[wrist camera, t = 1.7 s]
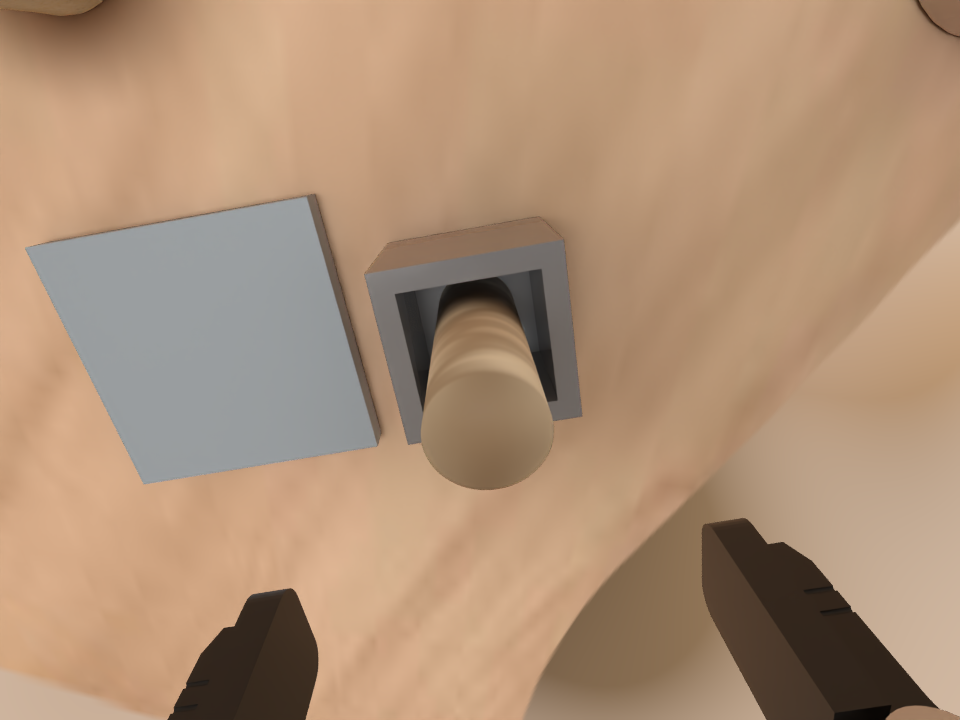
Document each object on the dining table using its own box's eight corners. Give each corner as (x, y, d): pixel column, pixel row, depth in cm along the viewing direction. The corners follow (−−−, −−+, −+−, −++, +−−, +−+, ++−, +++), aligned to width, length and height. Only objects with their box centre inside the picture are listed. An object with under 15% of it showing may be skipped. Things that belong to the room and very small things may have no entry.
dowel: (508, 265, 27) (545, 363, 15) (519, 337, 28) (560, 479, 16) (432, 278, 27) (407, 386, 15) (446, 349, 29) (435, 498, 16)
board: (314, 194, 26) (306, 196, 25) (381, 433, 32) (377, 446, 30) (47, 242, 27) (24, 247, 25) (157, 469, 32) (143, 484, 31)
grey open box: (539, 216, 27) (563, 239, 20) (556, 357, 30) (582, 416, 24) (387, 243, 27) (364, 274, 21) (419, 380, 30) (408, 444, 24)
